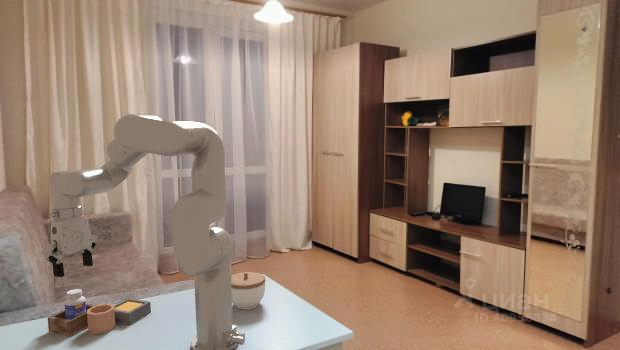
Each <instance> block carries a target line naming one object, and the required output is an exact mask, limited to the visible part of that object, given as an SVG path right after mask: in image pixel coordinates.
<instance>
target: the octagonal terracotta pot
mask: <svg viewBox="0 0 620 350" xmlns="http://www.w3.org/2000/svg"><path fill="white" fill-rule="evenodd" d="M114 305H115V304H111V303H102V304H96V306H94V307H91V308H89V309H88V310H87V320H88V328H87V331H88V333H89V334H90V335H102V334H106V333H109V332H111V331H113V330H115V328H116V322H115V311H114Z"/></svg>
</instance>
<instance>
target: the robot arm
mask: <svg viewBox="0 0 620 350" xmlns="http://www.w3.org/2000/svg"><path fill="white" fill-rule="evenodd" d="M113 137H114V139H112V140H111V141H110V142H109V143H108V144H107V146H106V154H107V157H108V158H109V160H108V161H107V162H105V163H104V164H103V165H101V166H100V167H93V168H86V169H79V170H59V171H53V172H50V174H49V175H48V186H49V187H48V188H49V194H50V203H51V210H52V212H50V213H49V217H50V218H51V219H52V220H51V223H50V243H49V244H48V245H47V246H46V247H45V248H44V249H42V252H41V254H42V255H43V257H44V258H45V260H46V261H48V262H50V263H49V264H52V271H53V275H54V277H56V278H63V277H64V276H65V268H64V263H63V262H62V261H63V259H64V256H68V255H73V254H75V253H79V252H82V251H83V252H82V254H81V255H82V264H83V266H85V267H92V266H94V261H93V252H94V248H95V247H96V245H97V244H96V242H97V240H98V236H97V235H95V234H93V233H92V234H91V229H90V224H89V221H88V218H87V216H86V215H84V214H83V213H84V212H83V202H82V201H83V200H82V198H85V197H89V196H93V195H98V194H99V195H100V194H103V193H107V192H110V191H113V190H114V189H115V188H116V187H118V186H119V185H120V184H121V183H123V182H124V181H125V180H126V179H128V178H129V176H130V174H131V173H132V169H133V167H134V166H135V165H136V164H137V163H138V162H140V161H141V160H142V159H143V158H145V157H146V156H148V155H149V154H151V155H152V154H153V155H158V156H164V157H180V156H186V155H192V156H194V159H193V162H192V166H191V175H190V176H191V191H189V192H186V193H185V194H183V195H181V196H180V197H179V198H178V199H177V200H176V201H175V204H174V206H173V208H172V213H171V219H172V220H171V221H172V222H171V224H172V240H173V254H174V261H175V264H176V266H177V268H178V269H179V271H180V272H181V273H183V274H184V275H186V276H188V277H194V304H195V324H196V325H195V326H196V327H195V328H196V335H195V336H194V337H193V338H192V339H191V342H190V346H191V350H234V349H235V348H236V347H237V346H244V345H245V342H246V338H245V337H246V333H245V332H238V331H237V330H238V329H237V325H235V324H234V322H233V321H234V320H233V303H232V291H231V287H232V285H231V275H232V265H233V256H234V243H233V238H232V237H231V234H230V233H229V232H228V231H227V230H225V229H223V228H221V227H218V226H217V227H216V226H213V225H214V224H216V223H219V222H220V221H222V220H223V219H224V218H225V216H226V214H227V209H228V208H227V207H228V206H227V205H228V204H227V185H226V184H227V183H226V170H225V169H226V162H225V161H226V160H225V159H226V158H225V157H226V156H225V154H226V153H225V152H226V151H225V147H224V142H223V140H222V138H221V136H220V134H219V133H218V132H217V131H216V130H215V129H214V128H212V127H211V126H209V125H207V124H205V123H201V122H196V121H187V120H185V121H184V120H183V121H181V120H180V121H176V120H175V121H174V120H173V121H172V120H163V119H161V118H160V117H159V116H157V115H152V114H139V113H138V114H137V113H131V114H130V113H129V114H125V115H124V116H121V117H120V118H119V119H117V122H115V124H114V127H113ZM210 226H213V227H210Z"/></svg>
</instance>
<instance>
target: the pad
mask: <svg viewBox="0 0 620 350" xmlns="http://www.w3.org/2000/svg"><path fill="white" fill-rule="evenodd" d="M140 305H142V303H136V302H129V301H128V302H126V303H124V304H122V305H120V306H118V307H116V308H114V309H116V310H122V311H128V312H129V311H131V310H133V309H135V308H137V307H139V306H140Z"/></svg>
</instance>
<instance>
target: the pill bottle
mask: <svg viewBox="0 0 620 350" xmlns="http://www.w3.org/2000/svg"><path fill="white" fill-rule="evenodd" d="M82 290H83V289H80V288H76V289H71V290H68V291H67V292H66V299H65V300H64V310H65V316H66V319H68V320H71V319H73V318H75V317H77V316H79V315H81V314H83V313H85V312H86V304H87V302H86V297H85V296H83V291H82Z"/></svg>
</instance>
